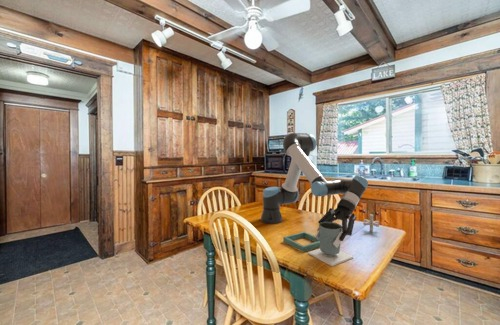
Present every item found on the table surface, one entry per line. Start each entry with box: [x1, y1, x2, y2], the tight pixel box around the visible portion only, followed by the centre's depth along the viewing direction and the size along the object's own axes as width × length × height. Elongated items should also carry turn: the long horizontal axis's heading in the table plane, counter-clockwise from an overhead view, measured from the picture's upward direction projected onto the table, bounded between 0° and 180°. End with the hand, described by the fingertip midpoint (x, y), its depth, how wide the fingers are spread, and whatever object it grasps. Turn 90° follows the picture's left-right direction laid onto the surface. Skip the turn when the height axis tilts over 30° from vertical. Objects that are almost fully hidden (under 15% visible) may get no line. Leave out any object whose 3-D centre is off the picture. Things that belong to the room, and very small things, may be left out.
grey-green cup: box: [318, 221, 342, 255], centre depth 104 cm, size 10×10×12 cm
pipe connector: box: [362, 214, 380, 232], centre depth 135 cm, size 10×10×10 cm
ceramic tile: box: [307, 247, 354, 267], centre depth 104 cm, size 14×14×1 cm
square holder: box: [282, 231, 320, 253], centre depth 119 cm, size 15×15×2 cm
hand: (325, 241), depth 102 cm, fingers closed on grey-green cup, 10 cm apart
